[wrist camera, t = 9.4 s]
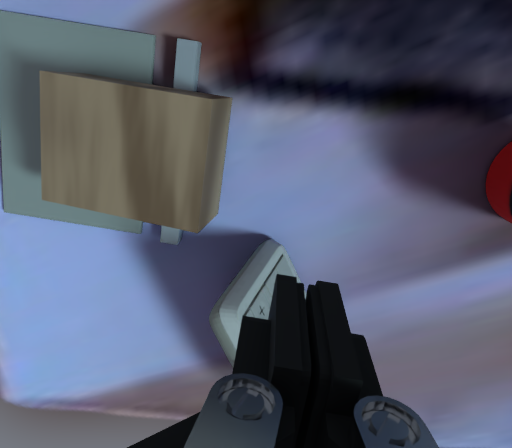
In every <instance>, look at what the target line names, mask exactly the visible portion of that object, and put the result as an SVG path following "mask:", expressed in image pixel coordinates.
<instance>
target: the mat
mask: <svg viewBox="0 0 512 448" xmlns="http://www.w3.org/2000/svg"><path fill="white" fill-rule="evenodd" d="M155 38H156V36H155V35H149V34H143V33H137V32H131V31H125V30H118V29H112V28H106V27H100V26H94V25H87V24H81V23H75V22H69V21H63V20H56V19H50V18H44V17H38V16H31V15H25V14H19V13H13V12H7V11H0V132H1V155H2V178H3V201H4V212H7V213H13V214H19V215H25V216H32V217H38V218H44V219H50V220H57V221H63V222H69V223H75V224H81V225H88V226H94V227H100V228H106V229H113V230H119V231H125V232H131V233H137V234H141V233H142V227H143V221H138V220H133V219H129V218H124V217H119V216H115V215H110V214H105V213H101V212H96V211H91V210H87V209H82V208H77V207H73V206H68V205H63V204H58V203H54V202H49V201H44V200H42V189H41V131H40V73H39V71H55V72H71V73H84V74H91V75H97V76H103V77H109V78H115V79H121V80H127V81H133V82H139V83H145V84H151V85H152V82H153V67H154V53H155Z"/></svg>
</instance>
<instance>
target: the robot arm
mask: <svg viewBox="0 0 512 448" xmlns="http://www.w3.org/2000/svg"><path fill="white" fill-rule="evenodd" d="M127 448H439V447H438V445H437V443H436V442H435V440H434V438H433V437H432V435H431V433H430V431H429V430H428V428H427V426H426V425H425V423H424V422H423V420H422V419H421V418H420V417H419V415H418V414H416V413H415V412H414V411H413V410H412V409H411V408H409V407H408V406H406V405H404V404H403V403H401V402H399V401H396V400H394V399H391V398H388V397H383V394H382V391H381V388H380V385H379V382H378V378H377V375H376V372H375V369H374V365H373V362H372V359H371V356H370V353H369V349H368V346H367V343H366V340H365V338H364V336H363V335H358V334H352V333H351V332H350V328H349V324H348V320H347V317H346V313H345V309H344V305H343V301H342V298H341V294H340V290H339V286H338V284H336V283H330V282H323V281H317V282H316V285H309V286H308V289H307V294H306V298H305V293H304V284H303V283H297V277H293V276H287V275H281V274H277V275H276V279H275V284H274V290H273V295H272V301H271V306H270V311H269V317H268V320H267V319H261V318H255V317H249V316H243V315H242V321H241V327H240V333H239V338H238V344H237V350H236V356H235V361H234V367H233V373H232V374H231V375H228V376H225V377H223V378H221V379H220V380H218V381H217V382H216V383H215V384H214V385H213V387H212V388H211V390H210V392H209V395H208V397H207V399H206V401H205V403H204V405H203V407H202V410H201V412H199V413H197V414H195V415H193V416H191V417H189V418H187V419H185V420H183V421H181V422H178V423H176V424H174V425H172V426H171V427H168V428H166V429H164V430H162V431H160V432H158V433H156V434H154V435H152V436H150V437H148V438H146V439H144V440H142V441H140V442H138V443H136V444H134V445H131V446H129V447H127Z"/></svg>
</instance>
